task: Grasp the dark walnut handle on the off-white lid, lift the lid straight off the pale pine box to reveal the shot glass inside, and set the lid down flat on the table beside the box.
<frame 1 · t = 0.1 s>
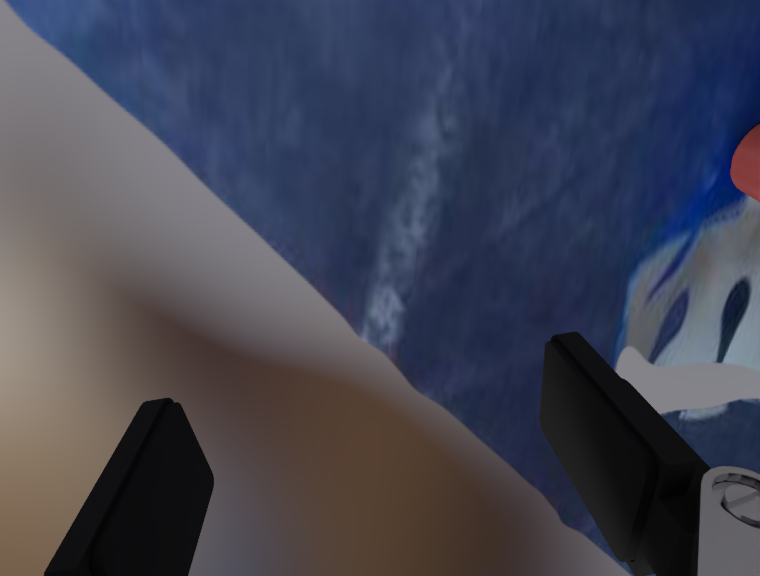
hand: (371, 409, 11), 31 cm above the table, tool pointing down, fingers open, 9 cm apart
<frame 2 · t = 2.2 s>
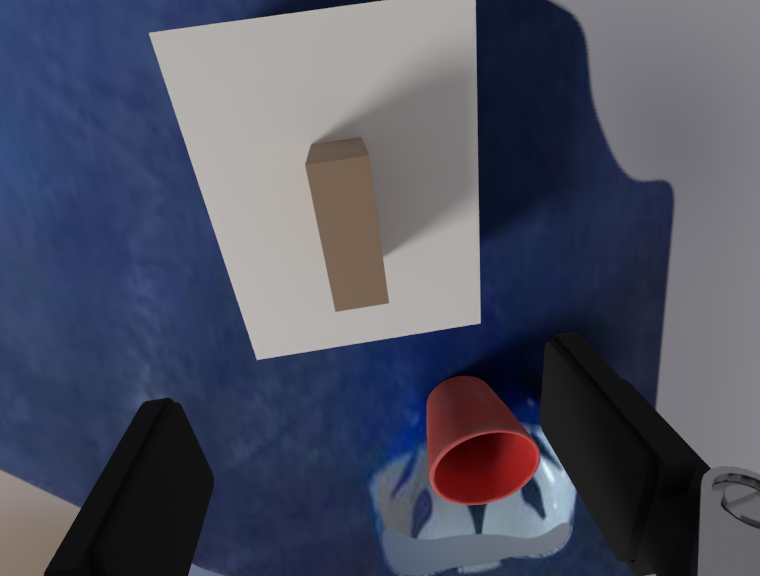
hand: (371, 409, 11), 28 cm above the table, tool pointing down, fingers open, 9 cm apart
lid: (346, 201, 28), point 9 cm above the table, touching box
flower pot: (458, 399, 49), on the table
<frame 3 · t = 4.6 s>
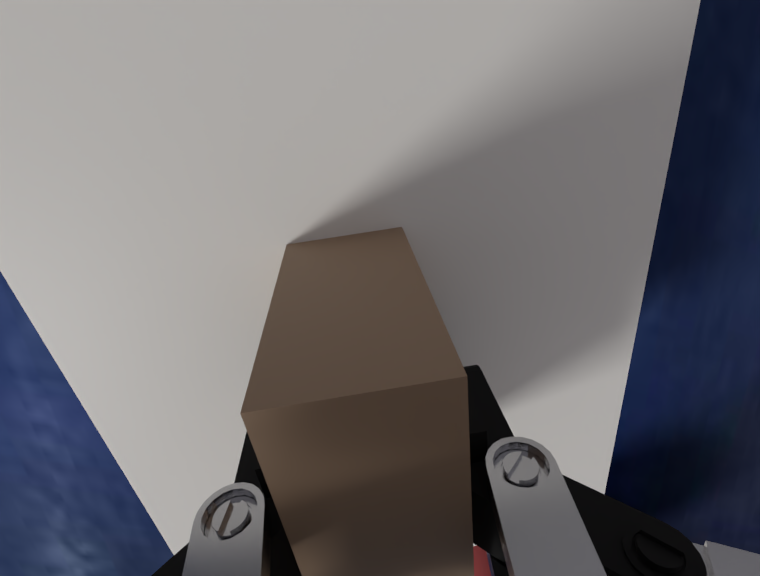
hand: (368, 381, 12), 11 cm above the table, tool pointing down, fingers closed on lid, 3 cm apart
lid: (363, 337, 14), point 9 cm above the table, touching box, gripper
flower pot: (510, 532, 35), on the table
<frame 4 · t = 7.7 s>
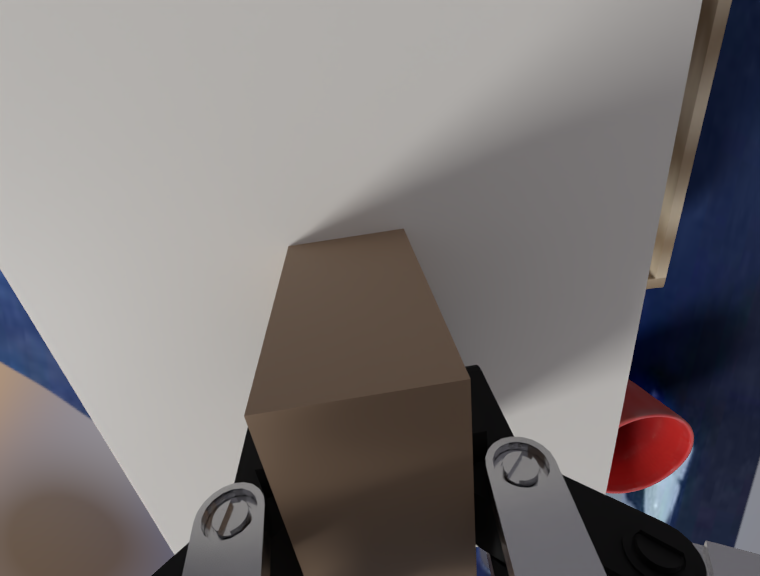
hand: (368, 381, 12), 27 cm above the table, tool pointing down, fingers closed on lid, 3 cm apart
lid: (365, 338, 14), point 24 cm above the table, touching gripper
box: (524, 146, 36), on the table
flower pot: (584, 388, 49), on the table
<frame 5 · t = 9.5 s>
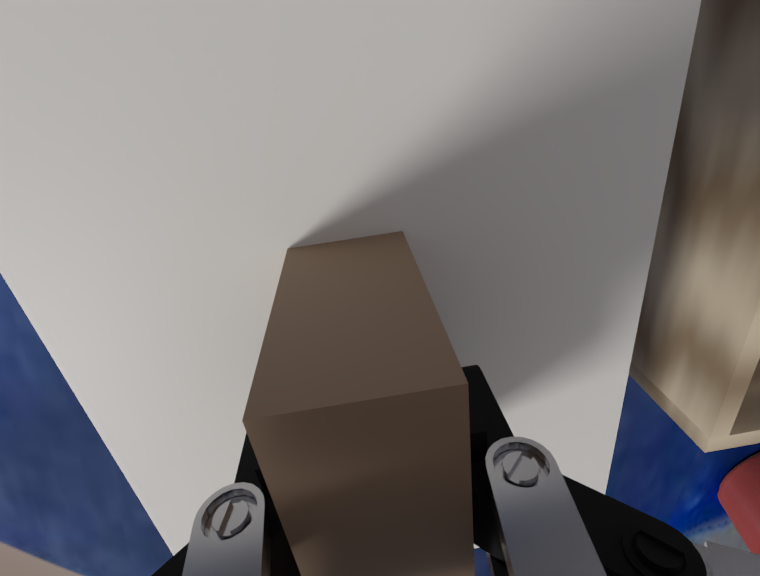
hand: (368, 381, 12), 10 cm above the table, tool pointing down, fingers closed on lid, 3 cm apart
lid: (364, 340, 14), point 8 cm above the table, touching gripper
when the fingers open (5 cm above the table, at t = 10.9 s): lid drops 1 cm, point 1 cm above the table.
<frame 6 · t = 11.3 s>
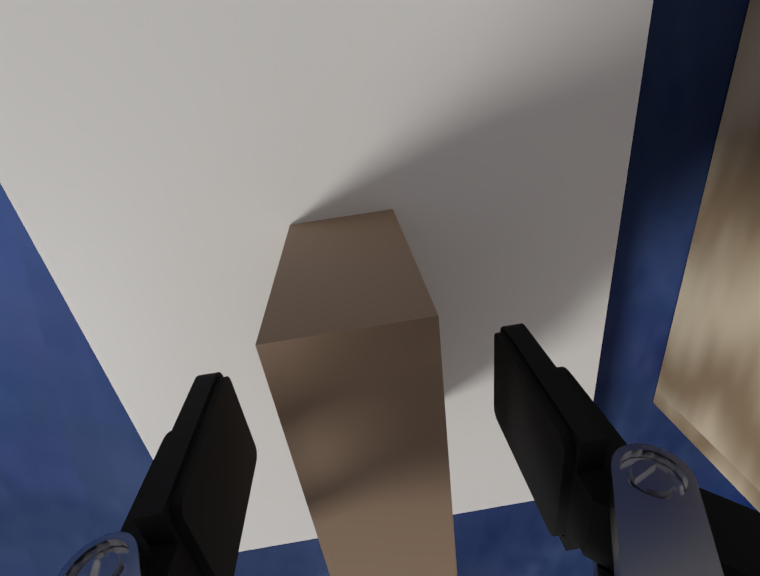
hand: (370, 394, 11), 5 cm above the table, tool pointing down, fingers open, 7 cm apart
lid: (359, 313, 15), point 1 cm above the table
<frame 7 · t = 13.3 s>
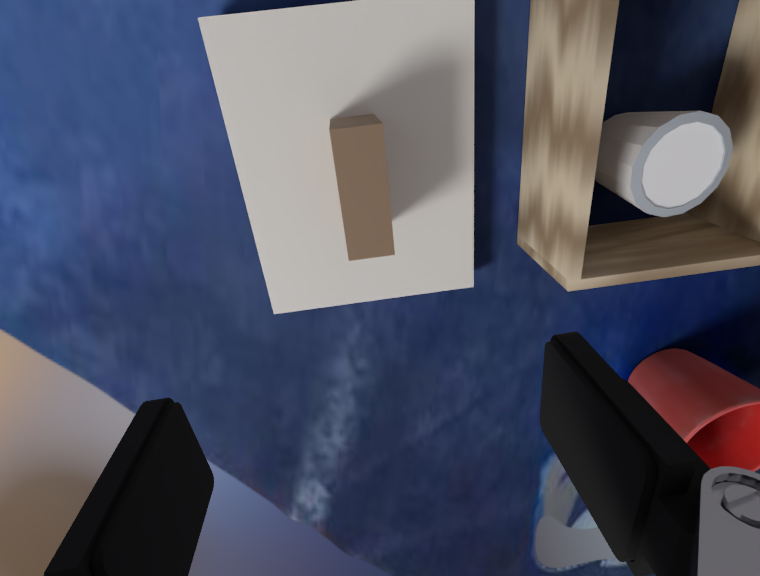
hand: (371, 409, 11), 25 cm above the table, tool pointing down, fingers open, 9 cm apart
lid: (358, 171, 32), point 1 cm above the table
box: (625, 109, 32), on the table
flower pot: (659, 375, 46), on the table
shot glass: (617, 149, 34), resting in box
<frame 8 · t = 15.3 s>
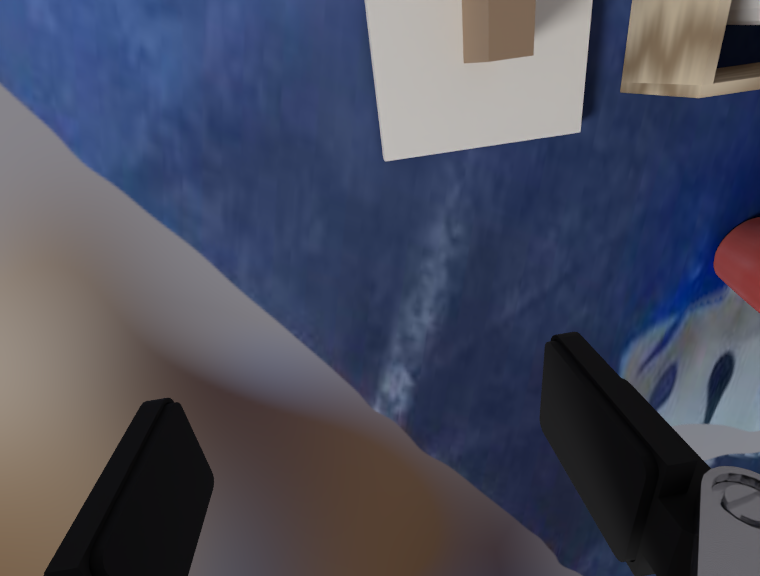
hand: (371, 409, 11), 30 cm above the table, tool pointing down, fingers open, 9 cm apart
lid: (476, 1, 32), point 1 cm above the table
flower pot: (745, 249, 46), on the table
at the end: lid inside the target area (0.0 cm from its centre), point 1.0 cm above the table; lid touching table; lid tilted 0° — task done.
